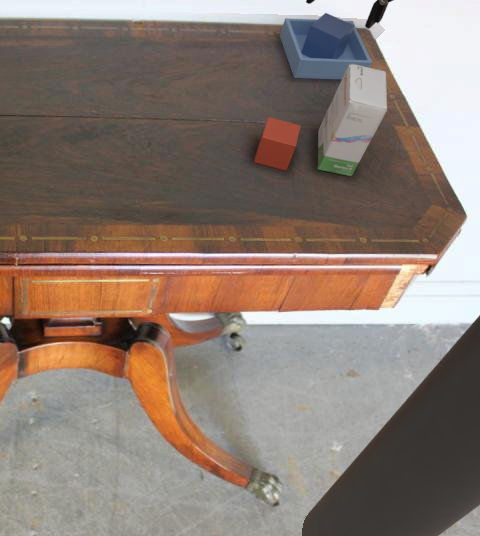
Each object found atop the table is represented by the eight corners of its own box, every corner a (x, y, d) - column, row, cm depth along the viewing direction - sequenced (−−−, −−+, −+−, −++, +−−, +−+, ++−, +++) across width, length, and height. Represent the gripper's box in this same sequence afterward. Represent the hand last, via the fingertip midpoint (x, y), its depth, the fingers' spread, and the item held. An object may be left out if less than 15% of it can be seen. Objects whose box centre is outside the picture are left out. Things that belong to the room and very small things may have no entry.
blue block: (343, 53, 114) (354, 25, 110) (329, 66, 111) (340, 38, 107) (315, 40, 116) (325, 12, 112) (300, 53, 113) (310, 25, 109)
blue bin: (345, 38, 118) (353, 20, 115) (364, 80, 111) (372, 62, 108) (279, 36, 117) (285, 18, 115) (293, 78, 110) (300, 59, 108)
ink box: (317, 131, 103) (346, 60, 93) (354, 138, 102) (386, 68, 93) (316, 170, 97) (346, 100, 88) (354, 178, 97) (389, 108, 88)
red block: (291, 150, 100) (301, 125, 96) (286, 171, 97) (296, 146, 93) (259, 141, 100) (268, 116, 97) (253, 162, 98) (262, 136, 94)
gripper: (457, -95, 93) (405, 24, 106) (337, -135, 99) (301, -18, 113) (436, -76, 89) (384, 45, 102) (312, -119, 96) (278, 0, 109)
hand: (340, 12), depth 107 cm, fingers open, 9 cm apart
